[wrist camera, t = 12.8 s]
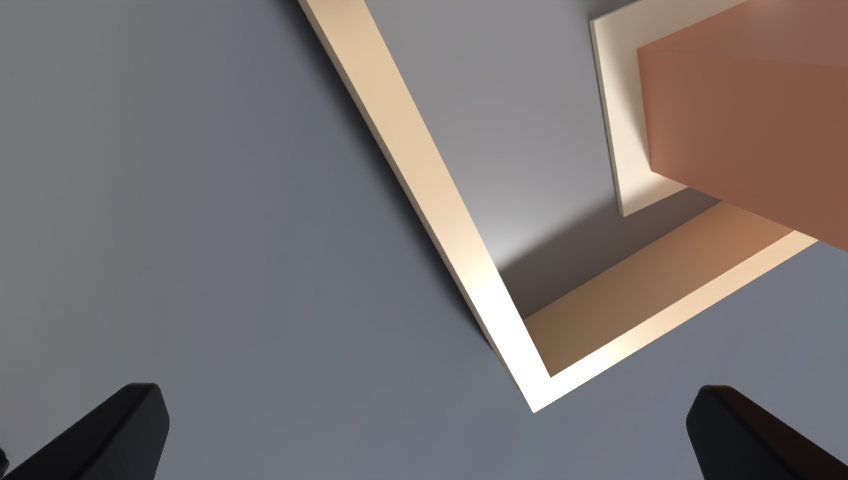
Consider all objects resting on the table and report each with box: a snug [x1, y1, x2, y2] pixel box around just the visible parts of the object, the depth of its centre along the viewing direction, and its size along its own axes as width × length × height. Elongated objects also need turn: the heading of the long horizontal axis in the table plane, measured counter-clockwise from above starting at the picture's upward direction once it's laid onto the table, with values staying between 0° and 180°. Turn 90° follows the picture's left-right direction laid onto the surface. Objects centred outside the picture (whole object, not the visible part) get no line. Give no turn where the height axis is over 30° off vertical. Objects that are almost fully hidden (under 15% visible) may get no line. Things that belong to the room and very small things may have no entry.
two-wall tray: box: [297, 0, 818, 413], centre depth 17 cm, size 18×18×4 cm
